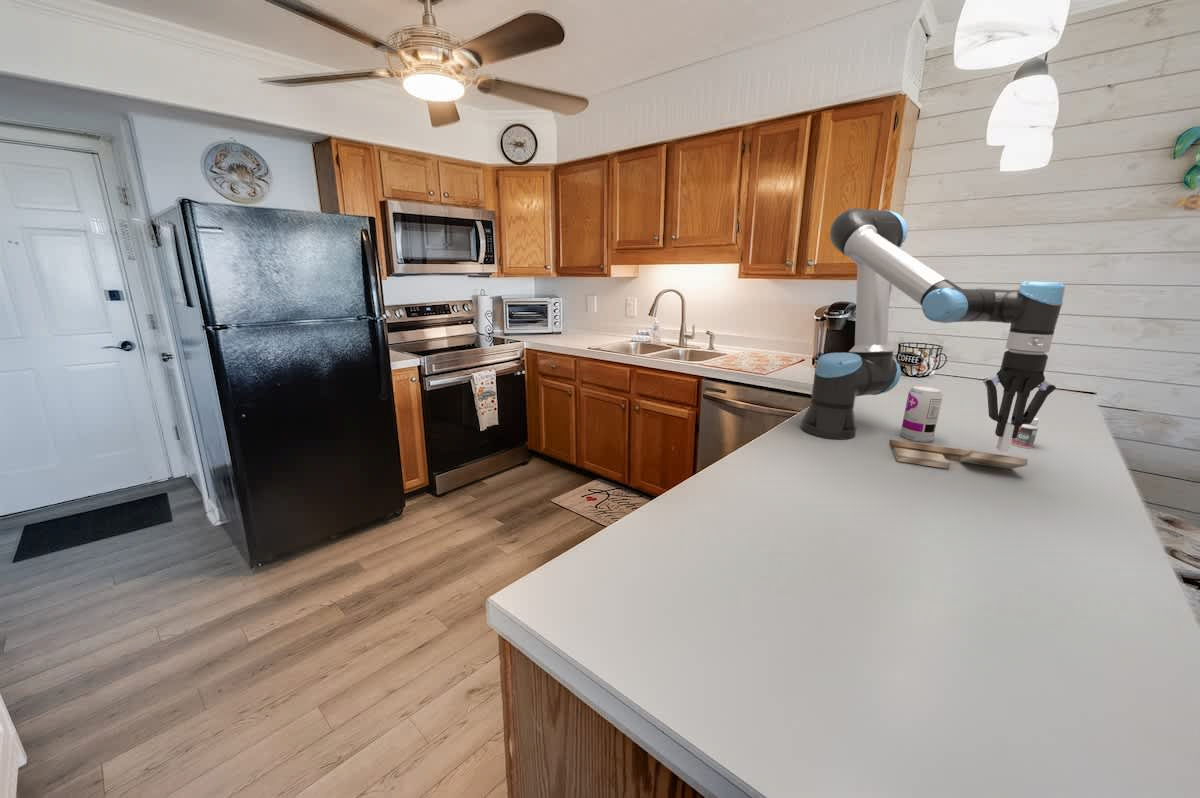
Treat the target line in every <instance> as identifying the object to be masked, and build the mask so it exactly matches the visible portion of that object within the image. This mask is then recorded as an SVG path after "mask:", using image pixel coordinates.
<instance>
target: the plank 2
mask: <svg viewBox="0 0 1200 798" xmlns="http://www.w3.org/2000/svg"><path fill="white" fill-rule="evenodd" d="M969 451H970V453H968V454H965V455H963V456H960V461H959V462H963V463H968V464H969V463H971V464H977V465H981V466H982V465H983V466H990V467H997V468H1003V469H1008V470H1009V469H1011V470H1014V469H1018V468H1022V467H1027V466H1028V460H1029V459H1028V458H1024V457H1016V456H1010V455H1009V456H1008V455H1004V456H1003V455H1002V454H998V455H996V453H990V454H989V452H983V451H976V452H975V450H969ZM982 452H983V453H982Z"/></svg>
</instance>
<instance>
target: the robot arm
mask: <svg viewBox="0 0 1200 798" xmlns="http://www.w3.org/2000/svg"><path fill="white" fill-rule="evenodd" d="M907 235H908V226H907V223H906V220H905V219H904V217H903V216H901V215H900V214H899V213H897V212H894V211H891V210H887V209H873V208H872V209H869V208H864V207H863V208H860V207H859V208H858V207H854V208H850V209H846V210H845V211H843V212H842V213H840V214H839V215H838V216H836V218H835V219H834V221H833V222H832V224H831V227H830V229H829V239H830V241H831V244H832V245H833V246H834V248H835V249H836V250H837V251H839V252H840V253H841V254H843V255H844V256H845V257H847V258H849V259H851V261H852V262H853V263H854V264H856V266H857V270H856V273H857V275H856V296H855V297H856V301H855V327H854V328H855V330H854V332H855V333H854V346H853V347H852V348H851V349H850V350H848V352H829V353H825V354H822V355H820V356H819V357H818V359H817V360H816V366H815V367H814V368H815V369H814V377H813V383H812V389H811V390H812V392H811V397H810V398H811V399H810V404H809V406H808V408H807V410H806V411H805V414H804V415H803V417H802V419H801V424H800V429H802V431H804V432H805V433H808V434H810V435H812V436H813V435H814V436H816V437H820V438H824V439H832V440H833V439H834V440H848V439H853V438H854V437H856V434H857V423H856V418H855V412H854V407H855V402H856V397H861V396H868V395H869V396H871V395H872V396H877V395H880V394H885V393H888V392H890V391H892V389H894V388H895V387H896V386H897V385H898V383H899V381H900V379H901V375H902V370H901V365H900V363H898V360H897V359H895V357H893V356H894V350H893V348H891V347H890V346H889V345H888V335H889V331H888V330H889V312H890V311H889V310H890V309H889V308H890V290H891V289H890V287H891V285H892V286H894V287H895V288H897V289H898V290H899V291H901V292H902V293H904V295H906V296H908V298H910V299H912V300H913V301H914V302H915V303H917V304H919V305H920V306H921V310H922V312H923V313H922V314H923V316H924V317H925V318H926V319H927V320H929V321H932V322H934V323H935V322H936V323H943V324H950V323H962V322H964V323H967V322H969V323H971V322H990V323H991V322H992V323H1004V324H1010V327H1009V328H1010V329H1009V332H1008V336H1007V340H1006V344H1005V349H1007V350H1006V351H1005V352H1004V353H1003V357H1002V361H1001V366H1000V370H998V372H996V375H995V376H992V377H990V378H989V377H987V378H986V377H985V378H983V383H984V385H985V387H986V394H987V396H986V397H987V407H988V417H989V418H990V419H991V420H993V421H995V422H997V424H996V427H995V431H994V434H995V435H996V436H997V437H998V440H997V445H996V449H997V450H998V451H1000V452H1005V453H1009V449H1010V446H1011V441H1012V438H1016V437H1017V435H1018V431H1019V427H1020V426H1022V425H1023V424H1031V423H1032V421H1033V419H1034V418H1036V416H1037V414H1038V412H1039V411H1040V410H1041V407H1042V406H1043V404H1044V402H1045V401H1046V399H1047V397H1048V396H1049V395H1050V394H1051V393H1053V392H1054V391H1055V390H1056V385H1054V384H1051V383H1050V382H1048V381H1046V377H1045V374H1044V373H1045V369H1046V366H1047V362H1048V358H1049V355H1048V354H1046V353H1048V352H1050V350H1051V346H1052V342H1053V338H1054V333H1055V329H1056V326H1057V322H1058V318H1059V316H1060V315H1059V314H1060V312H1061V308H1062V306H1063V303H1064V301H1063V299H1064V295H1065V289H1066V287H1065V285H1064V283H1062V282H1059V281H1023V282H1021V284H1020V286H1019V287H1018V288H1017V289H1012V290H1011V289H993V288H983V287H982V288H979V287H977V288H962V287H960V286H958V285H956V284H955V283H954V282H952V281H951V280H949V279H948V278H946V277H944V276H943V275H941V274H940V273H939V272H937V271H935V270H934V269H933V268H931V267H929V266H928V265H926V264H924V262H922V261H921V260H919V259H917V258H916V257H914V256H912V254H909V253H908V252H906V251H905V250H903V249H901V247H902V246H903V243H905V241H906V238H907ZM890 284H891V285H890ZM998 382H999V383H998ZM999 384H1001V386H1002V388H1003V391H1002V393H1003V395H1002V399H1001V403H1000V406H999V405H998V393H997V392H998V389H997V386H998V385H999ZM1037 387H1038V390H1037V392H1035V394H1034V396H1033V398H1032V400H1030V403H1029V404H1028V406H1027V402H1028V399H1029V398H1030V394H1031V392H1032V391H1033V390H1034V389H1036V388H1037ZM1015 397H1016V398H1015ZM1014 398H1015V402H1014V407H1013V410H1012V411H1013V412H1012V416H1011V418H1010V422H1008V421H1009V417H1010V414H1011V413H1010V412H1011V409H1012V404H1013V401H1014ZM999 407H1000V408H999Z"/></svg>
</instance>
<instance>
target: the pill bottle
mask: <svg viewBox="0 0 1200 798" xmlns="http://www.w3.org/2000/svg"><path fill="white" fill-rule="evenodd" d="M1039 421H1040V419H1039V418H1037V417H1035V418H1034V419H1033V421H1032V423H1031V424H1023V425H1022V426H1020V427H1019V431H1018V435H1017V437H1016V438H1011V442H1010V445H1012V446H1015V447H1018V448H1023V449H1032V448H1033V446H1034V443H1035V440H1036V435H1037V433H1038V429H1039V426H1038V424H1039Z"/></svg>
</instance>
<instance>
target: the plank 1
mask: <svg viewBox="0 0 1200 798" xmlns="http://www.w3.org/2000/svg"><path fill="white" fill-rule="evenodd" d="M892 452H893V455H894V456H895V458H896V460H897V462H902V463H909V464H915V465H919V466H920V465H922V466H927V467H928V466H929V467H934V468H940V469H941V468H942V469H947V470H949V469H950V466H951V462H949V461H948V459H945V457H944V456H943V455H942V454H937V453H930V452H923V451H916V450H909V449H902V448H896V447H894V449H893V451H892Z"/></svg>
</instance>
